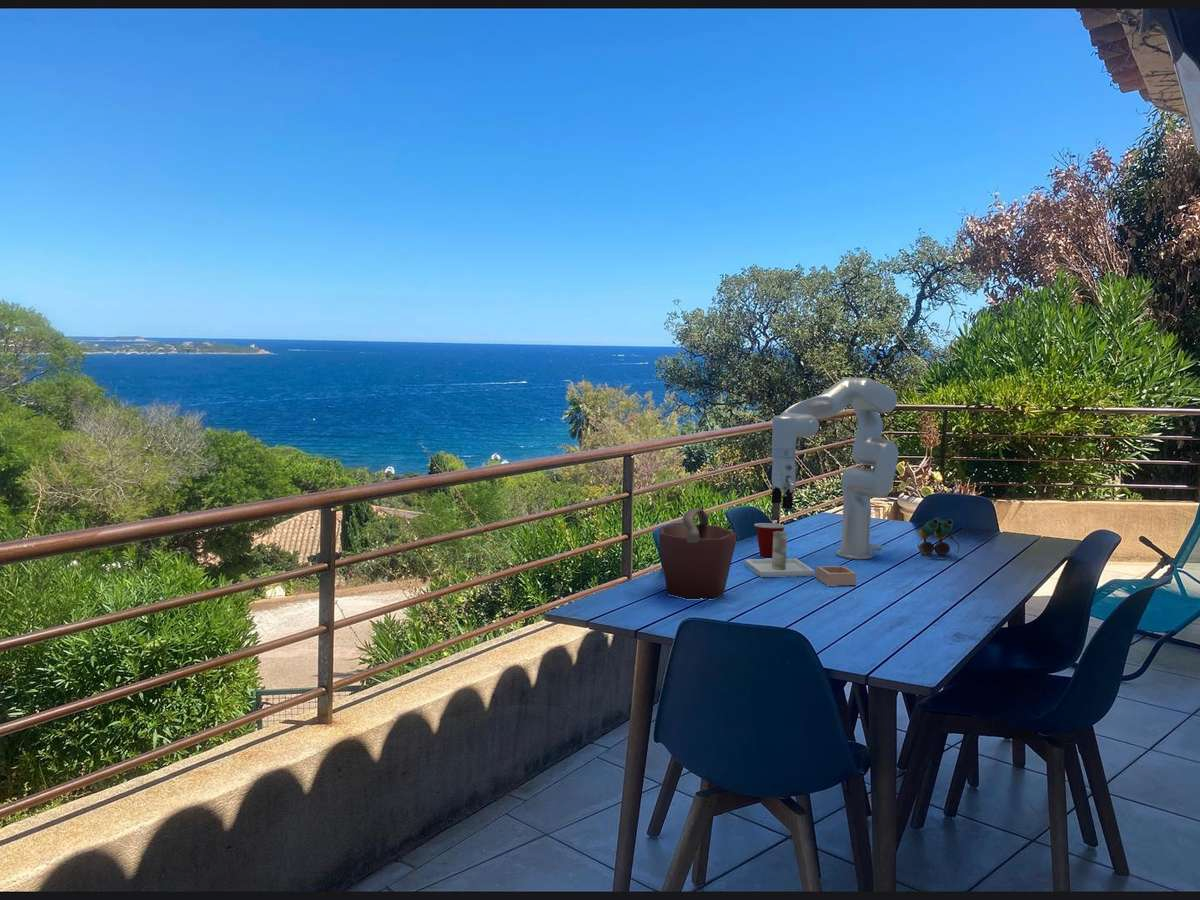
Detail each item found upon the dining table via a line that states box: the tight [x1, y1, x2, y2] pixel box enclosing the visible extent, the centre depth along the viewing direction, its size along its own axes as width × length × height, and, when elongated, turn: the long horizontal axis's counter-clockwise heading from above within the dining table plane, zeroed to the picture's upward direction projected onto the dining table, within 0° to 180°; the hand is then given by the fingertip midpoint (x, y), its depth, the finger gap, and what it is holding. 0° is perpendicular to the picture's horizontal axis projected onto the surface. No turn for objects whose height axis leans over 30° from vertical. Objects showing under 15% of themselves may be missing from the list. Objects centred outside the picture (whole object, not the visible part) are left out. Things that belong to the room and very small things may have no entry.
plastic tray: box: [744, 557, 816, 578], centre depth 269 cm, size 18×16×2 cm
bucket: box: [659, 508, 737, 599], centre depth 241 cm, size 24×22×25 cm
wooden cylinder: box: [772, 531, 788, 570], centre depth 268 cm, size 4×4×12 cm
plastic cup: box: [754, 522, 786, 558], centre depth 287 cm, size 11×11×12 cm
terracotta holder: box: [815, 565, 857, 586], centre depth 256 cm, size 9×9×4 cm
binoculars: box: [917, 517, 960, 561], centre depth 290 cm, size 14×14×15 cm
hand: (781, 505), depth 267 cm, fingers open, 9 cm apart
